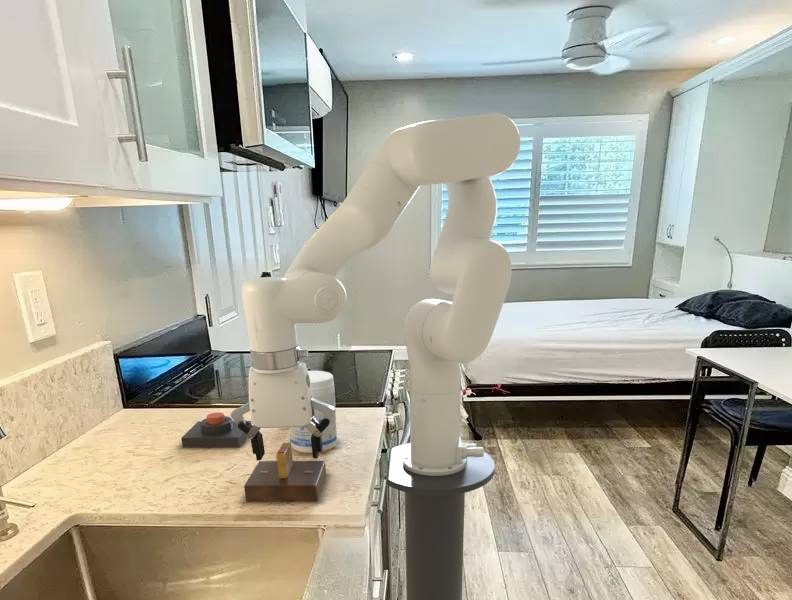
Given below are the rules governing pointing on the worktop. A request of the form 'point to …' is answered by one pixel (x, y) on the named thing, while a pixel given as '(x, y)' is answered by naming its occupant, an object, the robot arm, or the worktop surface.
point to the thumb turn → (284, 460)
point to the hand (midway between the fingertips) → (288, 456)
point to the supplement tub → (317, 415)
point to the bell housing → (214, 435)
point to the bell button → (215, 418)
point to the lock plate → (285, 482)
